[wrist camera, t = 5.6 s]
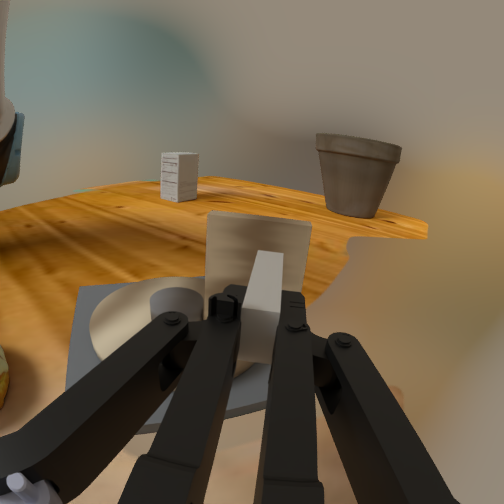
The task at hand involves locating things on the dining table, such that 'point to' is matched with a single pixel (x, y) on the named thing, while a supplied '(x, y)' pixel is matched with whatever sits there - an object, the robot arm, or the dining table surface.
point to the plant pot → (355, 172)
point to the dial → (216, 277)
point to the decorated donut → (3, 377)
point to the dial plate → (240, 399)
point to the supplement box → (179, 176)
